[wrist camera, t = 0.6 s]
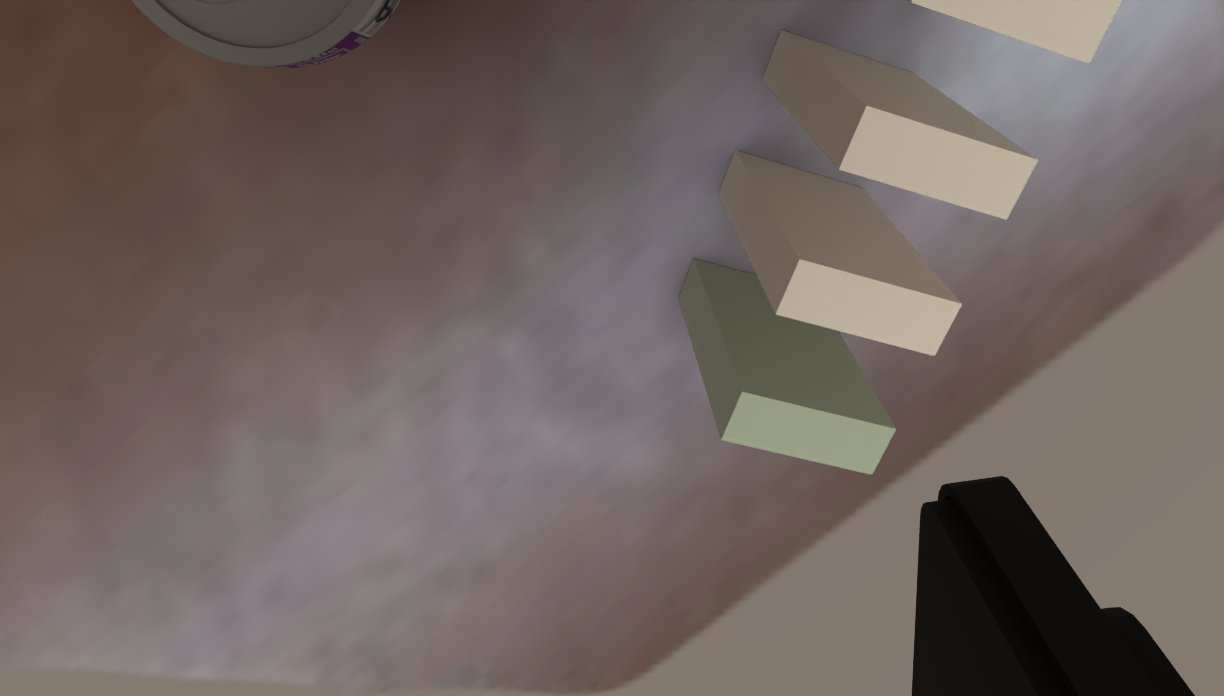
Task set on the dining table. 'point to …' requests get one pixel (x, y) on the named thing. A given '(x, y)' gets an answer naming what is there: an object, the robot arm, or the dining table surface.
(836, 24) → the dining table surface
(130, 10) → the dining table surface
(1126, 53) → the dining table surface
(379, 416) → the dining table surface
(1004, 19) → the tile
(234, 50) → the beverage can
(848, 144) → the tile
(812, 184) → the tile
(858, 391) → the tile
